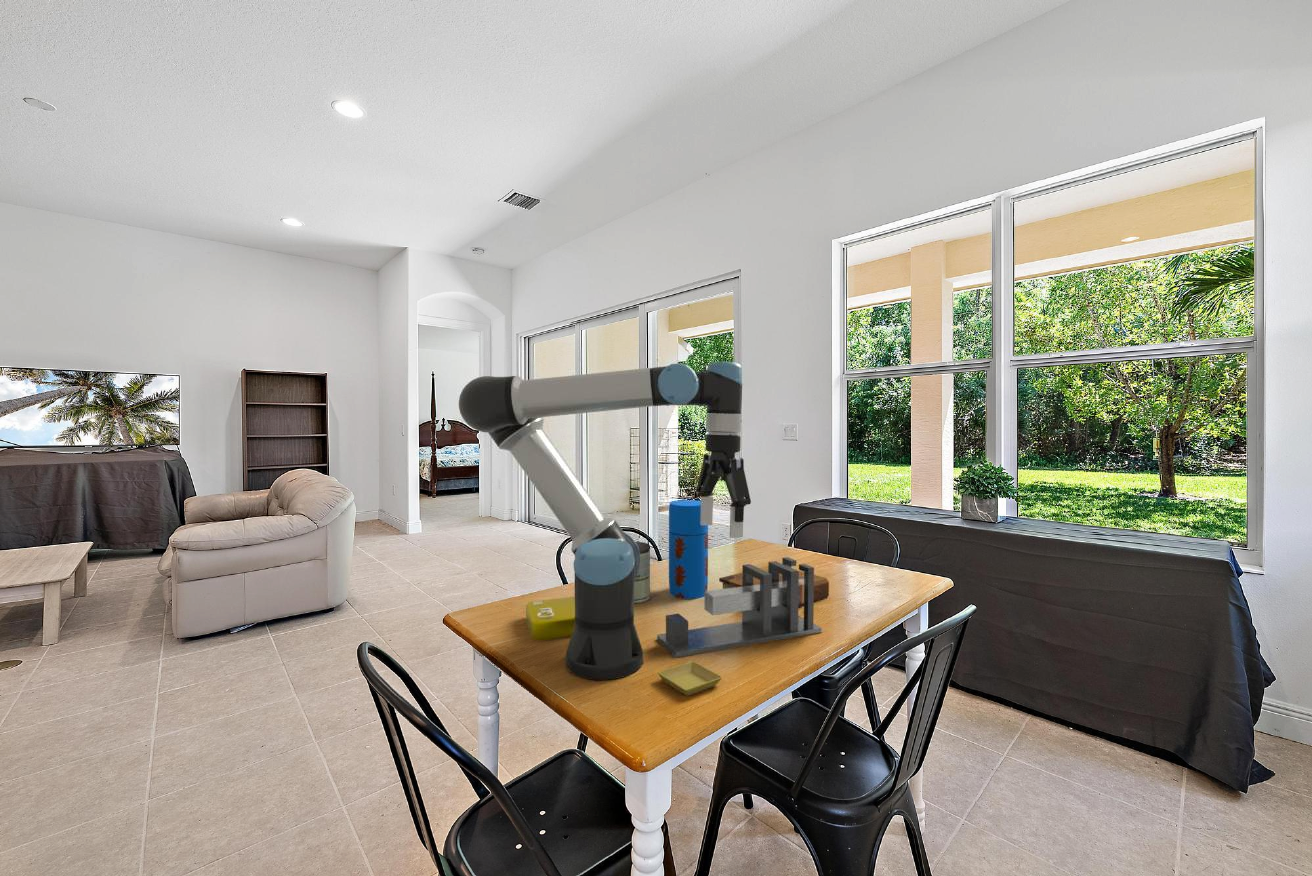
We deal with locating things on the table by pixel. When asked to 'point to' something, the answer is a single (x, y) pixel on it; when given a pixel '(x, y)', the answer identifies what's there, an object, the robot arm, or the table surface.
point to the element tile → (551, 618)
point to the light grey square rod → (746, 598)
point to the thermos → (687, 550)
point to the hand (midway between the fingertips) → (720, 530)
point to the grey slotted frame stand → (751, 615)
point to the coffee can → (642, 574)
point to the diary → (819, 582)
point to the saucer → (690, 678)
